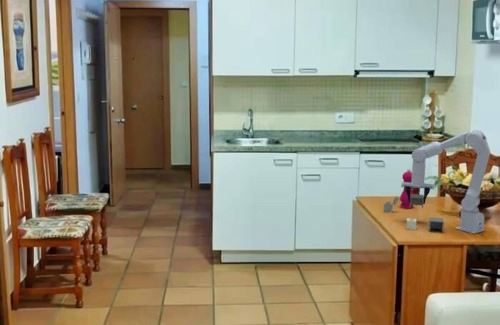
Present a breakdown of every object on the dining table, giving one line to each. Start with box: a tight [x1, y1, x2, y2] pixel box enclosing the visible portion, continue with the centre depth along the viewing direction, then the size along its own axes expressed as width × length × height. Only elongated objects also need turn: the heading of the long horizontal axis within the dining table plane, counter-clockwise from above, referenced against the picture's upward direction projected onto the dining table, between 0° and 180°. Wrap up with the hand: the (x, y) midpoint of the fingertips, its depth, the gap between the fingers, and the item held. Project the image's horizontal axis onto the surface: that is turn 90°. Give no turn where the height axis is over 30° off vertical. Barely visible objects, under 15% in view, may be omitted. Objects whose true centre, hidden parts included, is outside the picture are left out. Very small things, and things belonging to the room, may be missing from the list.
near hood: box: [428, 217, 445, 234], centre depth 263 cm, size 6×6×5 cm
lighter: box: [383, 196, 400, 213], centre depth 293 cm, size 7×2×8 cm, turn 86°
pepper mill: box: [399, 168, 414, 210], centre depth 301 cm, size 7×7×20 cm
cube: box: [406, 217, 417, 231], centre depth 266 cm, size 4×4×4 cm
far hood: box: [410, 194, 424, 209], centre depth 275 cm, size 6×6×5 cm
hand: (416, 203), depth 275 cm, fingers closed on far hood, 6 cm apart
